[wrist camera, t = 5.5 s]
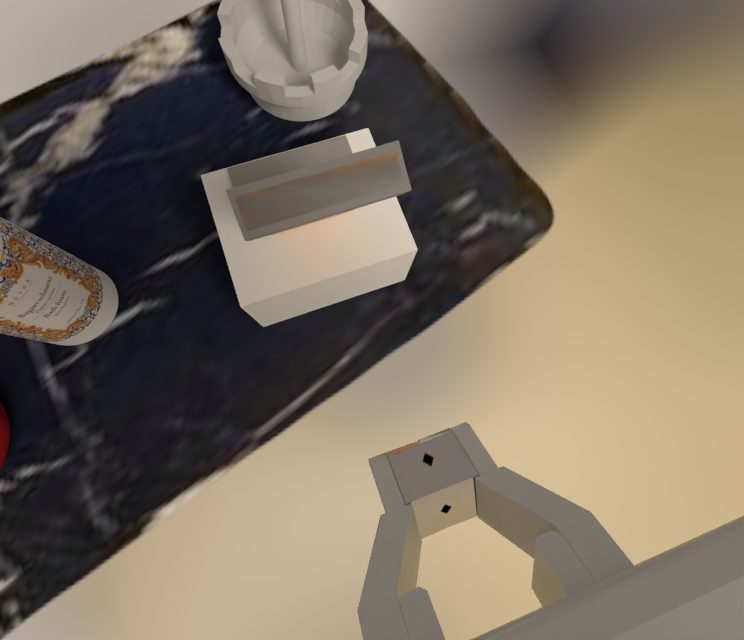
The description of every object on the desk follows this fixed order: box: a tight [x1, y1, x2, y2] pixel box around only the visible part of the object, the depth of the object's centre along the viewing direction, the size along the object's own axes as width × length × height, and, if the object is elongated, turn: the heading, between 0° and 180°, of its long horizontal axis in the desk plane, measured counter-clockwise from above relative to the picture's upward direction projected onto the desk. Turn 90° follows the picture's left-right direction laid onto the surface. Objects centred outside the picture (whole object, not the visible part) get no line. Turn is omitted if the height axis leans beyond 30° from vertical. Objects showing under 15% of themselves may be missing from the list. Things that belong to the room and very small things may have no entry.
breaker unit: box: [201, 128, 418, 327], centre depth 31 cm, size 10×13×8 cm
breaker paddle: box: [226, 140, 411, 241], centre depth 21 cm, size 2×6×14 cm, turn 111°
